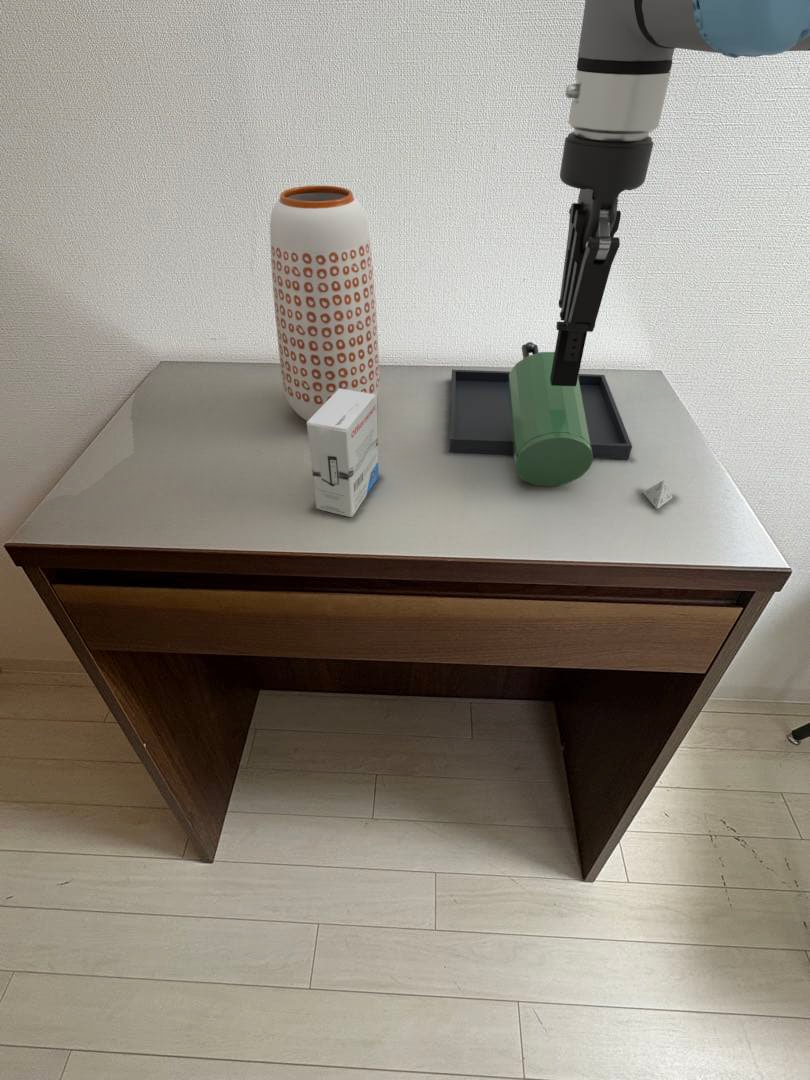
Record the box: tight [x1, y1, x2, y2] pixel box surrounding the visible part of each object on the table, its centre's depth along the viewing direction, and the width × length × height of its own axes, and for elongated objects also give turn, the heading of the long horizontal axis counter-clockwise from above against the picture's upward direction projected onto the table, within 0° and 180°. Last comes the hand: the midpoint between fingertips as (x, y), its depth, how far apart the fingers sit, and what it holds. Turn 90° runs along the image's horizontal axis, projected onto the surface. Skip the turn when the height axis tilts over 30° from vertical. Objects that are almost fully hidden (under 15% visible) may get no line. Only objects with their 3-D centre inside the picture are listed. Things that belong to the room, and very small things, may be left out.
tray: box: [449, 369, 633, 460], centre depth 88 cm, size 23×20×2 cm
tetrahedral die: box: [642, 480, 673, 510], centre depth 72 cm, size 4×3×3 cm
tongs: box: [521, 341, 540, 360], centre depth 82 cm, size 2×11×21 cm
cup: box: [507, 351, 594, 487], centre depth 75 cm, size 9×9×14 cm
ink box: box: [306, 388, 379, 518], centre depth 70 cm, size 9×5×12 cm, turn 160°
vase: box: [269, 185, 381, 422], centre depth 79 cm, size 13×13×28 cm
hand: (562, 382), depth 69 cm, fingers closed
